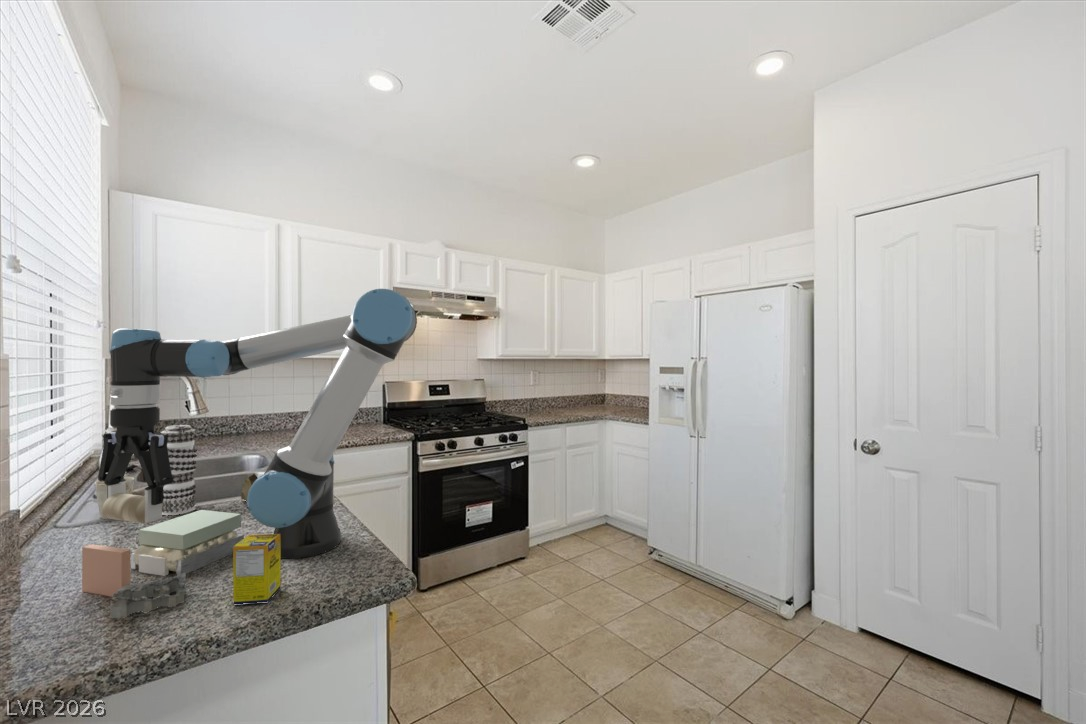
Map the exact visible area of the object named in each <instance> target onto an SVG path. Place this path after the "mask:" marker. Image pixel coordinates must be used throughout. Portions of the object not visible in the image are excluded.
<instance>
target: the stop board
mask: <svg viewBox="0 0 1086 724" xmlns="http://www.w3.org/2000/svg"><path fill="white" fill-rule="evenodd" d="M81 548H82V555H81V558H82V561H81V562H82V563H81V566H82V567H81V568H82V571H81V574H82V575H81V577H82V578H81V592H82V591H83V592H84V593H88V594H95V595H100V596H107V597H111V598H112V597H113V595H114V593H115V592H116V591H117V590H119V589H120V588H122V587H124V586H126V585H129V584H130V572H131V549H129V548H121V547H114V546H109V545H108V546H107V545H101V544H93V543H92V544H88V545H85V546H82V547H81Z"/></svg>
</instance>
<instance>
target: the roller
mask: <svg viewBox="0 0 1086 724" xmlns="http://www.w3.org/2000/svg"><path fill="white" fill-rule="evenodd" d="M162 511H163V502H162ZM102 513H103V515H104V516H105V517H106V518H108V519H107V520H116V521H124V522H132V523H139V524H146V523H145V495H139V494H133V493H132V494H123V493H118V494H114V495H112V496H110V497H109V498H108V499H107V500H106V501H105V502H104V504H103V507H102ZM153 522H154V521H152V522H149V523H148V524H151V523H153Z"/></svg>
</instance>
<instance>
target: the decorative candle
mask: <svg viewBox="0 0 1086 724" xmlns="http://www.w3.org/2000/svg"><path fill="white" fill-rule="evenodd" d="M195 431H196V429H194V428H193V427H192V426H191V425H190V424H173V425H168V426H166V427H165V428H164V429H163V431H160V433H161V435H165V434H166V435H167V436H168V441H167V449H168V455H169V461H170V467H171V473H172V479H173V482H172V483H171V484H168V485H165V486H164V487H163V511H162V515H166V517H167V516H168V515H172V516H178V515H179V514H180V515H183V514H184V515H185V514H189V513H192V512H194V509H195V510H196V503H197V502H196V499H197V497H196V496H195V495H194V494H196V488H197V486H196V485H197V484H195V477H194V472H195V471H196V469H197V466H195V465H196V464H197V461H195V460H194V459H195V458H197V457H198V454H196V452H197V451H198V449H196V448H194V446H195V445H196V442H195V437H194V436H195ZM164 479H165V478H164ZM168 517H169V516H168Z"/></svg>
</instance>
